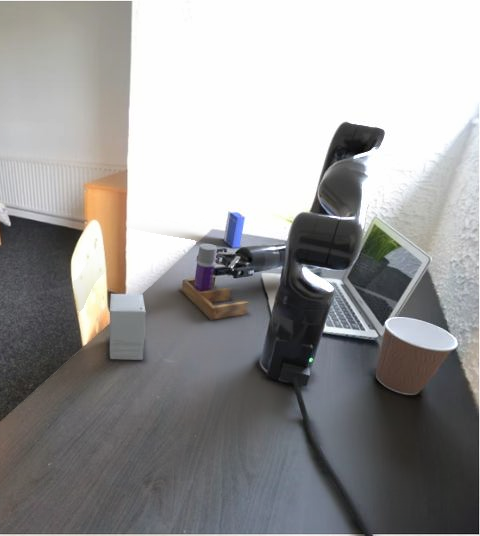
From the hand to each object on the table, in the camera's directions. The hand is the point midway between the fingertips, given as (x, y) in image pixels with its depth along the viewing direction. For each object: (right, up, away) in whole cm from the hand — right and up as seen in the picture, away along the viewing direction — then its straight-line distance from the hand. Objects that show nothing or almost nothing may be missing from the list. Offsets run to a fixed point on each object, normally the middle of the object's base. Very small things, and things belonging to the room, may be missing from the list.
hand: (205, 265), depth 101 cm
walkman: (+23, +8, +38) cm, 45 cm away
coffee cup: (+29, -23, -28) cm, 46 cm away
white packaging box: (-24, -19, -17) cm, 35 cm away
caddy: (+2, -10, +1) cm, 10 cm away
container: (0, -9, +4) cm, 10 cm away
